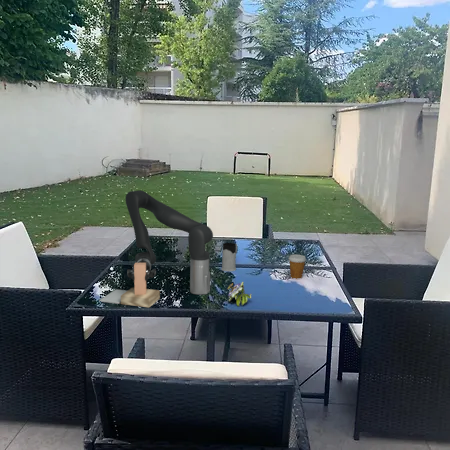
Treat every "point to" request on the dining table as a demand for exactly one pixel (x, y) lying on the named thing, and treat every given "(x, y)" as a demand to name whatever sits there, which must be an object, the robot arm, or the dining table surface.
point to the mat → (113, 296)
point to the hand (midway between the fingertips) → (139, 278)
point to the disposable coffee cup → (296, 265)
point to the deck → (140, 298)
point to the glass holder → (229, 257)
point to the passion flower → (237, 290)
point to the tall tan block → (140, 278)
